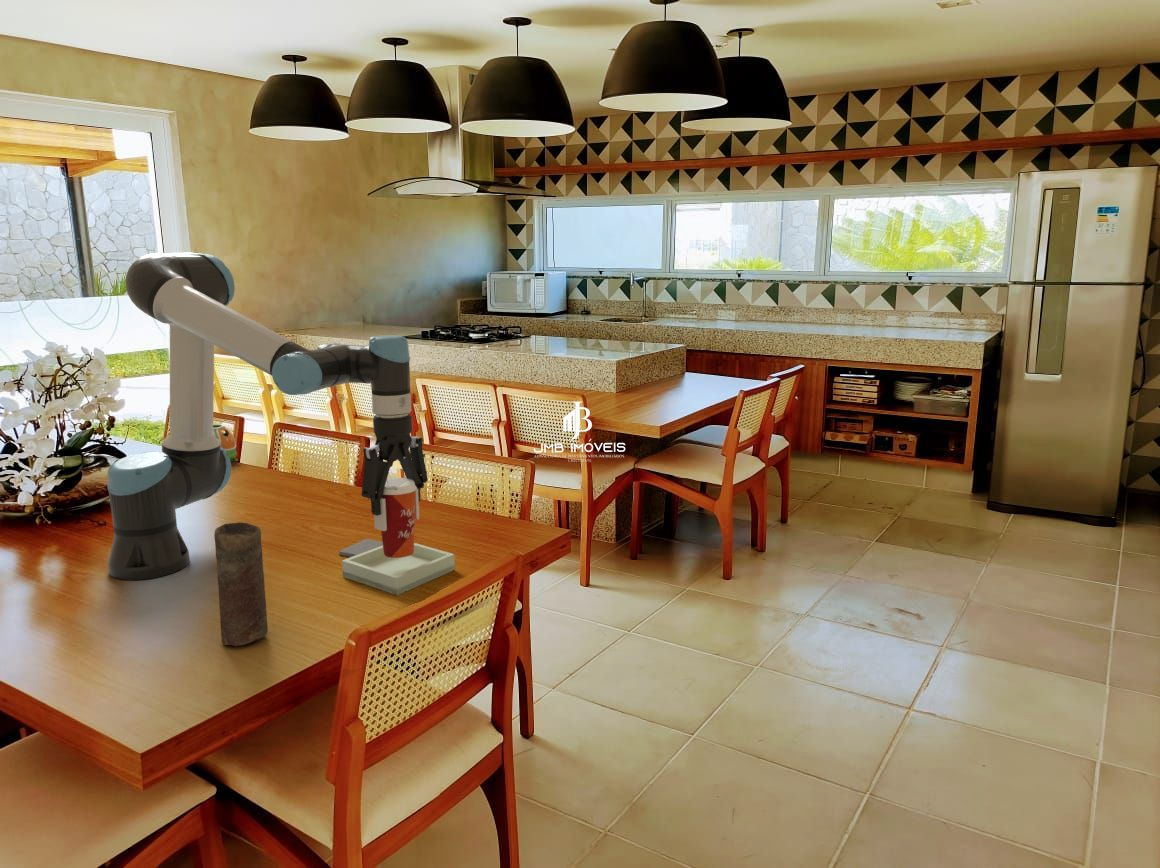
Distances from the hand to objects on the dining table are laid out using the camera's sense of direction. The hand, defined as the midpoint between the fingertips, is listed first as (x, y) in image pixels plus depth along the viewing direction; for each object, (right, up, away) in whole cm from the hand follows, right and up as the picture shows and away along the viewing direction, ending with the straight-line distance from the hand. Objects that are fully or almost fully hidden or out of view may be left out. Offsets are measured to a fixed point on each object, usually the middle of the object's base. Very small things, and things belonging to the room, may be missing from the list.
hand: (397, 523), depth 168 cm
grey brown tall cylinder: (-20, -17, -27) cm, 38 cm away
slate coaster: (-10, -8, +15) cm, 19 cm away
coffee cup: (0, -6, +1) cm, 6 cm away
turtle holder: (-79, +9, +90) cm, 120 cm away
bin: (0, -11, +2) cm, 11 cm away
